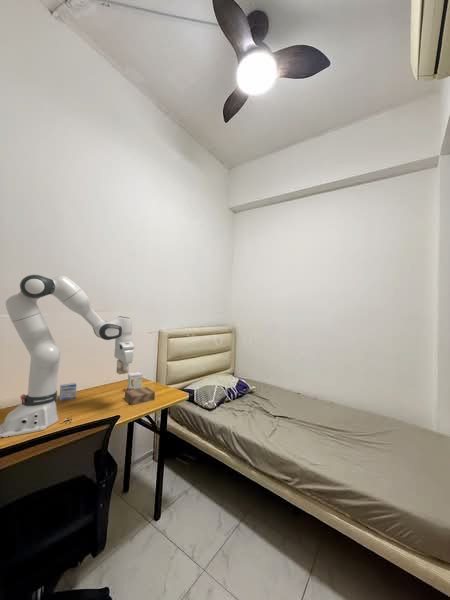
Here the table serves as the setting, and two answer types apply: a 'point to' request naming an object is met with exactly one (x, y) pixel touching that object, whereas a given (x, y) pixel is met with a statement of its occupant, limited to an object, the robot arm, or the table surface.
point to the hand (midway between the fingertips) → (122, 368)
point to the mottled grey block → (121, 367)
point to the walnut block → (139, 395)
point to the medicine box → (67, 391)
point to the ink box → (134, 381)
